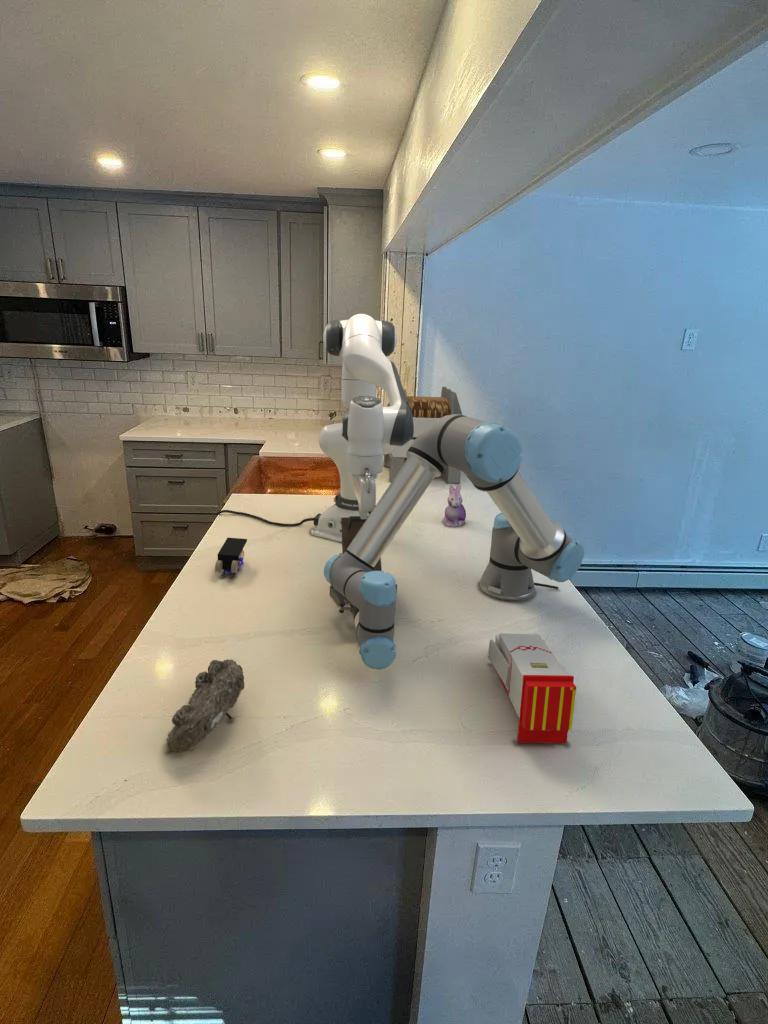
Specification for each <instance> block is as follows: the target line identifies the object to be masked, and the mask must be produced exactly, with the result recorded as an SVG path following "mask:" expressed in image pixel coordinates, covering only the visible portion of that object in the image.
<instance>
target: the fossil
mask: <svg viewBox="0 0 768 1024" xmlns="http://www.w3.org/2000/svg"><path fill="white" fill-rule="evenodd" d="M243 670H244V669H243V667H242V665H240V664H237V662H236V661H235V660H234V659H232V658H231V659H227V658H226V659H224V660H223V661H222V660H217V659H212V660H211V661H210V663H209V665H208V666H207V671H201V672H199V673H198V674H197V675H196V676H195V680H194V684H195V685H194V687H195V689H194V690H193V693H192V694H191V697H190V698H189V700H188V704H184V705H182V706H181V707H180V709H177V710H176V711H175V713H174V715H173V716H172V718H171V723H172V724H173V727H172V730H171V731H170V732H168V734H167V738H166V741H167V742H166V745H167V749H168V750H169V751H173V752H174V753H176V754H178V753H182V752H188V751H189V752H192V751H193V750H195V748H196V747H197V746H199V744H200V743H201V742H203V741H204V740H205V739H206V738H207V737H208V736H209V735H210V734H211V733H212V732H214V730H215V729H217V727H218V726H219V724H220V722H221V721H222V720H223V719H224V718H225V716H226V717H227V719H229V720H233V717H232V715H230V714H229V710H230V709H231V708H234V706H235V704H236V703H237V702H238V699H239V697H240V695H241V693H242V691H243V690H245V689H244V688H245V675H244V671H243Z"/></svg>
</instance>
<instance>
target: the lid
mask: <svg viewBox="0 0 768 1024" xmlns="http://www.w3.org/2000/svg"><path fill="white" fill-rule="evenodd" d="M368 517H369V516H367V518H368ZM366 520H367V519H361V518H360V516H349V517H347V518H341V529H342V542H341V550H342V551H341V553H342V555H343V554H344V553H345V552H346V550H347V548H348V547H349V545H350V544H351V542H352V541H353V539H354V538H355V536H356V535H357V533H358V532H359V530H360V529H361V527H362V526H363V524H364V523H365V521H366ZM372 571H383V570H382V557H381V558H380V559H379V560H378V562H377V563H376V565H375V566H374V568H373V570H372Z"/></svg>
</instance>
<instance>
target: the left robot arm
mask: <svg viewBox="0 0 768 1024" xmlns="http://www.w3.org/2000/svg"><path fill="white" fill-rule="evenodd" d="M325 325H326V326H325V328H324V331H323V333H322V334H323V335H322V341H323V345H324V348H325V349H326V352H327V353H328V355H331V356H333V357H334V356H335V357H340V356H341V357H342V366H341V403H342V405H343V406H344V408H345V409H346V410H344V412H343V413H341V420H342V422H337V423H330V424H327V425H323V427H322V429H321V430H320V432H319V435H318V445H319V447H320V450H321V451H322V452H323V454H325V455H326V456H327V457H329V458H330V459H331V460H332V462H333V463H334V464H335V466H336V467H337V470H338V474H339V483H340V484H339V485H340V488H339V489H340V490H339V491H338V492H337V494H336V495H335V496H334V497H333V502H334V504H333V505H331V506H329V507H328V508H326V509H325V510H323V512H321V513H317V514H316V515H315V516H314V517H308V518H304V519H302V520H300V522H296V523H281V522H275V521H270V520H267V519H265V518H263V517H262V516H261V517H260V516H257V515H255V514H251V513H247V512H242V511H236V510H230V509H222V510H219V511H217V512H216V513H215V516H219V515H221V514H224V513H227V514H234V515H239V516H246V517H249V518H252V519H255V520H259V521H261V522H263V523H266V524H268V525H271V526H279V527H299V526H301V525H303V524H304V523H306V522H311V521H313V526H312V528H311V530H310V533H311V536H315V537H319V538H323V539H326V540H330V541H336V542H339V543H342V529H341V518H347V517H349V516H360V518H361V519H367V516H369V515H370V514H371V512H372V511H373V509H374V508H375V506H376V505H377V501H376V500H377V484H376V479H377V478H378V474H381V473H382V472H383V465H384V464H383V463H384V455H385V454H389V453H391V452H392V451H393V450H394V448H395V446H403V445H404V444H406V443H407V442H408V441H409V440H410V439H411V438H412V437H413V433H414V420H413V416H412V413H411V411H410V409H409V406H408V404H407V401H406V397H405V394H404V390H405V389H404V387H403V384H402V381H401V378H400V374H399V371H398V368H397V366H396V364H395V363H394V362H393V361H392V360H390V359H389V358H388V357H390V355H392V354H393V353H394V352H395V348H396V346H397V343H398V336H397V335H398V334H397V330H396V327H395V325H394V324H393V323H392V322H391V321H387V320H383V319H382V320H377V319H374V318H373V317H372V316H370V315H369V314H366V313H357V314H354V315H352V316H351V317H350V318H348V319H343V320H340V319H334V320H330V321H329V322H327V324H325ZM377 387H379V388H380V389H382V390H384V392H385V394H386V396H387V400H388V403H390V407H387V406H383V402H382V400H381V399H380V398H378V397H377ZM403 389H404V390H403Z"/></svg>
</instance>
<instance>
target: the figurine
mask: <svg viewBox="0 0 768 1024" xmlns="http://www.w3.org/2000/svg"><path fill="white" fill-rule="evenodd" d="M461 487H462V485H461V483H457V485H456V486H455V487H454V486H453V485H452V483H449V485H448V491H449V494H448V496H447V503H448V505H447V506H446V507H445V509H444V518H443V523H444V524H445V525H446V526H447V527H453V528H455V527H460V526H463V525H464V524H465V522H466V519H467V512H466V509H465V506H464V505H463V504H462V503H463V497H462V495H461Z"/></svg>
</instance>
